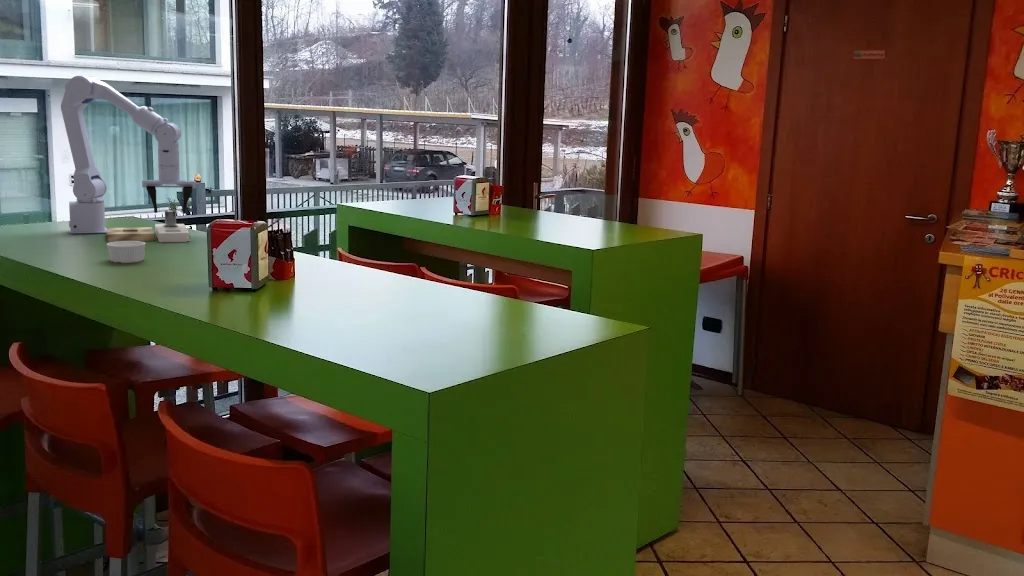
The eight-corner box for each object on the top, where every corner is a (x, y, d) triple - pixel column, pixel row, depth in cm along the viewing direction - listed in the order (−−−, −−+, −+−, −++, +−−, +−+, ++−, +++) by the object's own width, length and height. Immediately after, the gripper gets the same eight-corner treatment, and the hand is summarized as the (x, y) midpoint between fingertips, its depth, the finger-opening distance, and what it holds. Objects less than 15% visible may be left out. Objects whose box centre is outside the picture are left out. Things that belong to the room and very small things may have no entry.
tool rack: (159, 242, 252) (158, 233, 251) (155, 232, 268) (155, 224, 267) (189, 241, 255) (189, 233, 254) (183, 232, 271) (183, 223, 270)
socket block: (107, 241, 249) (107, 234, 249) (107, 234, 260) (106, 227, 259) (154, 240, 254) (154, 233, 253) (152, 234, 265) (151, 227, 264)
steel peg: (165, 235, 263) (164, 211, 262) (165, 234, 266) (164, 210, 264) (176, 235, 264) (175, 211, 263) (176, 233, 267) (175, 210, 266)
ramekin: (107, 264, 219) (106, 246, 218) (107, 257, 227) (106, 240, 226) (146, 263, 223) (146, 245, 222) (145, 256, 231) (144, 240, 230)
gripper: (142, 166, 255) (143, 214, 257) (196, 167, 261) (197, 214, 263) (141, 164, 261) (142, 210, 264) (194, 165, 267) (195, 211, 270)
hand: (169, 212), depth 264 cm, fingers open, 7 cm apart
